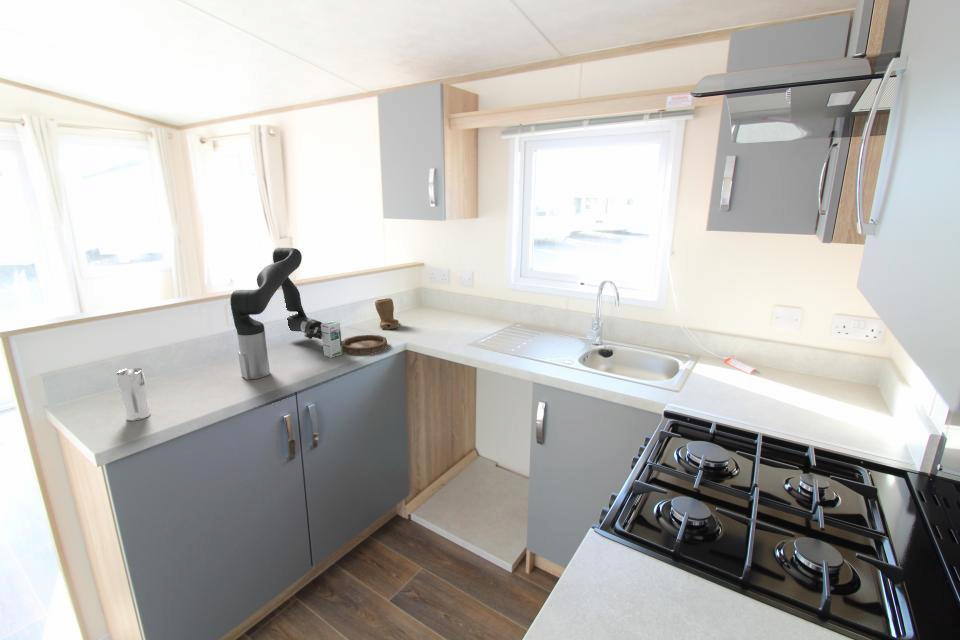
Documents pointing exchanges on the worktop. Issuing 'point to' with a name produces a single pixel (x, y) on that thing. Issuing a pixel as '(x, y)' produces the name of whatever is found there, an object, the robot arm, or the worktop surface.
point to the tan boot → (386, 313)
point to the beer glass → (133, 393)
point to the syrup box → (331, 339)
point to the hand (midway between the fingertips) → (330, 334)
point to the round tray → (364, 344)
